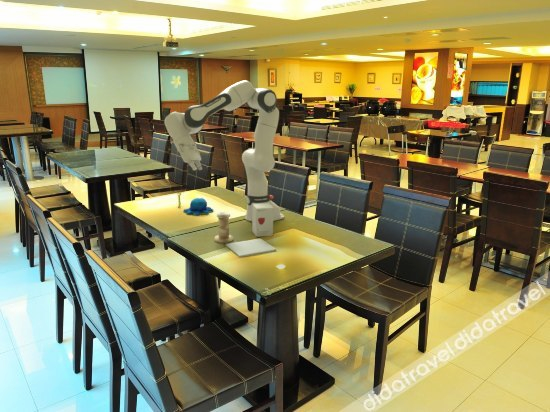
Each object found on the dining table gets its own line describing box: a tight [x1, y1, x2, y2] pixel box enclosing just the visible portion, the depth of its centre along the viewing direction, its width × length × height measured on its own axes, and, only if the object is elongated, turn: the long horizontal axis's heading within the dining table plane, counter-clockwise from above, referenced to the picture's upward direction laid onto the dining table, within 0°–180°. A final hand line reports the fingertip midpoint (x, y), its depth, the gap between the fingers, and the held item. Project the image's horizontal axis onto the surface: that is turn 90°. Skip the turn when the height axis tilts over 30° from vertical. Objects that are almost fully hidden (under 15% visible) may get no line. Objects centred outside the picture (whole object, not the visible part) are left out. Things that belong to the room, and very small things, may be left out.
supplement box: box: [251, 203, 274, 238], centre depth 213 cm, size 9×9×15 cm
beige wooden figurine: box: [214, 212, 234, 244], centre depth 204 cm, size 9×9×13 cm
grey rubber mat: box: [225, 237, 277, 258], centre depth 195 cm, size 18×16×1 cm
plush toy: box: [182, 197, 214, 217], centre depth 250 cm, size 17×17×8 cm
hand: (198, 169), depth 205 cm, fingers open, 8 cm apart
